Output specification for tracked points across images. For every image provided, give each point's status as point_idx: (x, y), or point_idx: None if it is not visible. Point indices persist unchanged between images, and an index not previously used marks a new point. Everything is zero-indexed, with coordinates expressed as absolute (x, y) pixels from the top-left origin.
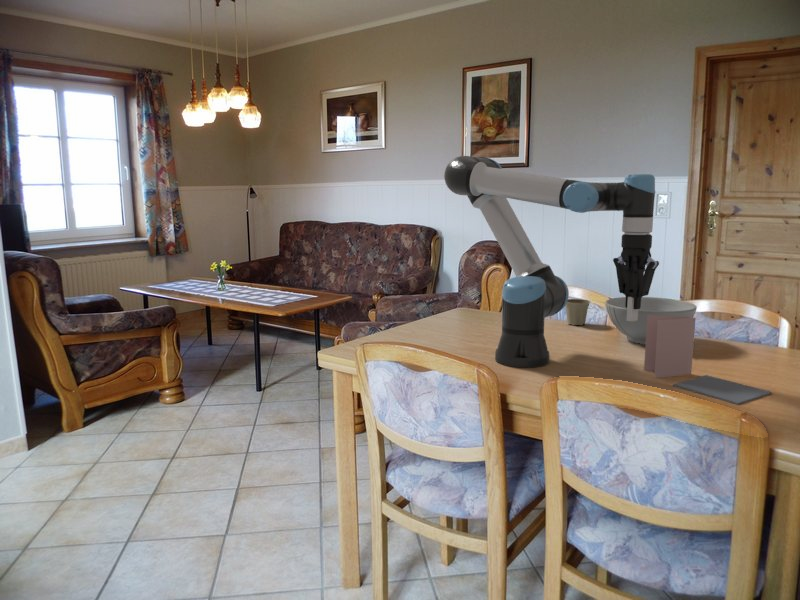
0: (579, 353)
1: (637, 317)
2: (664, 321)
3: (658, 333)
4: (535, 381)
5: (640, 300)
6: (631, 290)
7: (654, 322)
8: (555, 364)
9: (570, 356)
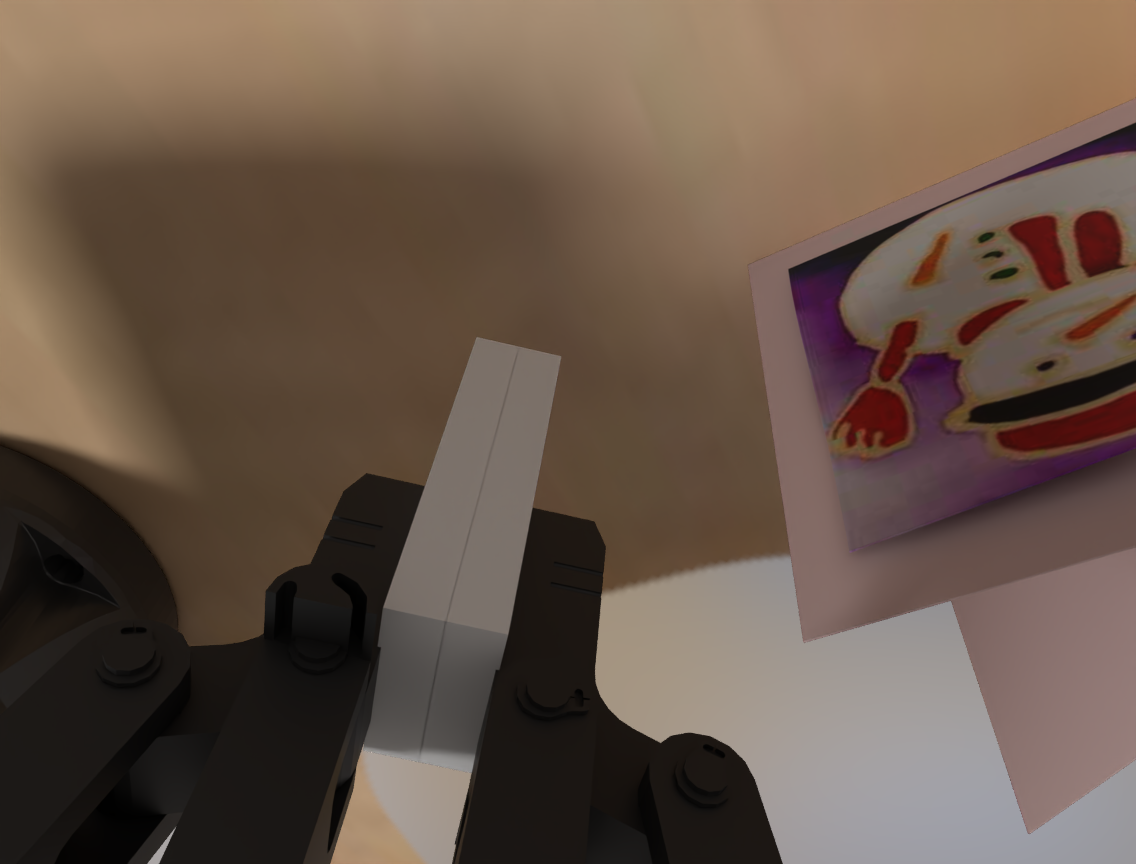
0: (22, 124)
1: (554, 384)
2: (1098, 766)
3: (996, 688)
4: (369, 813)
5: (593, 653)
6: (291, 738)
7: (891, 539)
8: (187, 529)
9: (68, 276)
